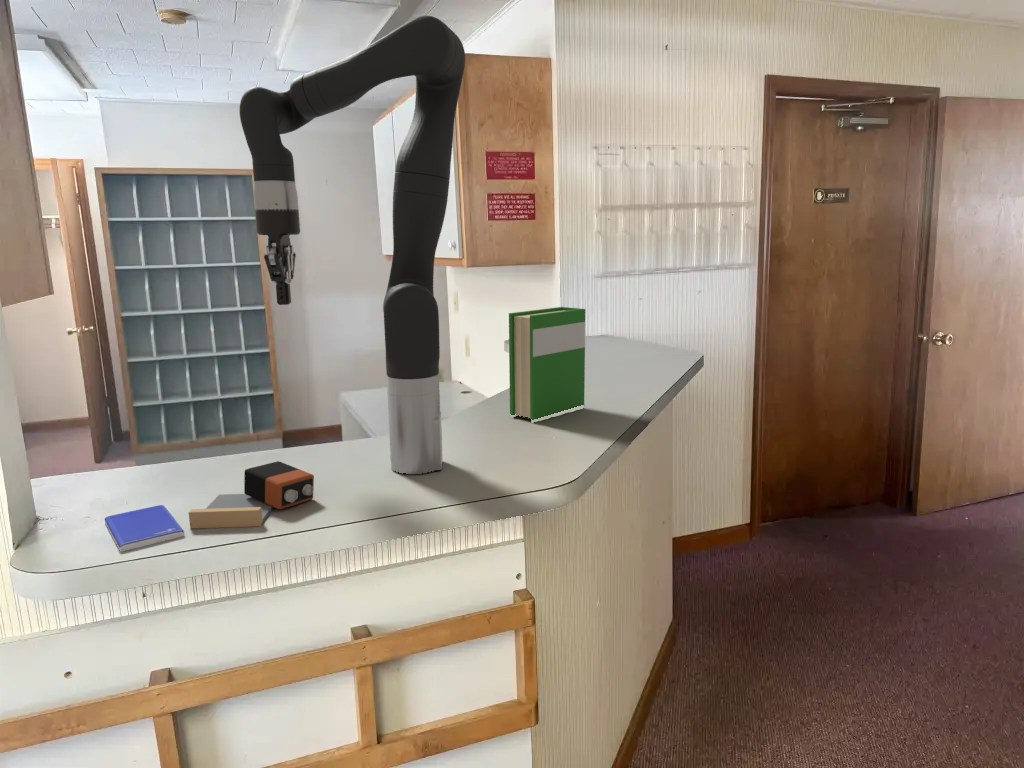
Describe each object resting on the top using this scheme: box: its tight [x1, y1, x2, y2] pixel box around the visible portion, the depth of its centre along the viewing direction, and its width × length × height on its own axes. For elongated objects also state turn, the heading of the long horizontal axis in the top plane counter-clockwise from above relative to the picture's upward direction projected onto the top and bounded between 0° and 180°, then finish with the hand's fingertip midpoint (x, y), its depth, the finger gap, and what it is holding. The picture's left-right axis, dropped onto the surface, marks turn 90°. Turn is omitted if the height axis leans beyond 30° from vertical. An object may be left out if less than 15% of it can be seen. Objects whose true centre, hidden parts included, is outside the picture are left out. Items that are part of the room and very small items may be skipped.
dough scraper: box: [188, 493, 274, 529], centre depth 108 cm, size 10×12×2 cm
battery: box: [243, 460, 315, 510], centre depth 112 cm, size 4×7×10 cm
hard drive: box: [104, 504, 185, 552], centre depth 102 cm, size 2×8×12 cm
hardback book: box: [508, 306, 586, 420], centre depth 162 cm, size 18×7×24 cm, turn 135°
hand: (284, 304), depth 130 cm, fingers closed
